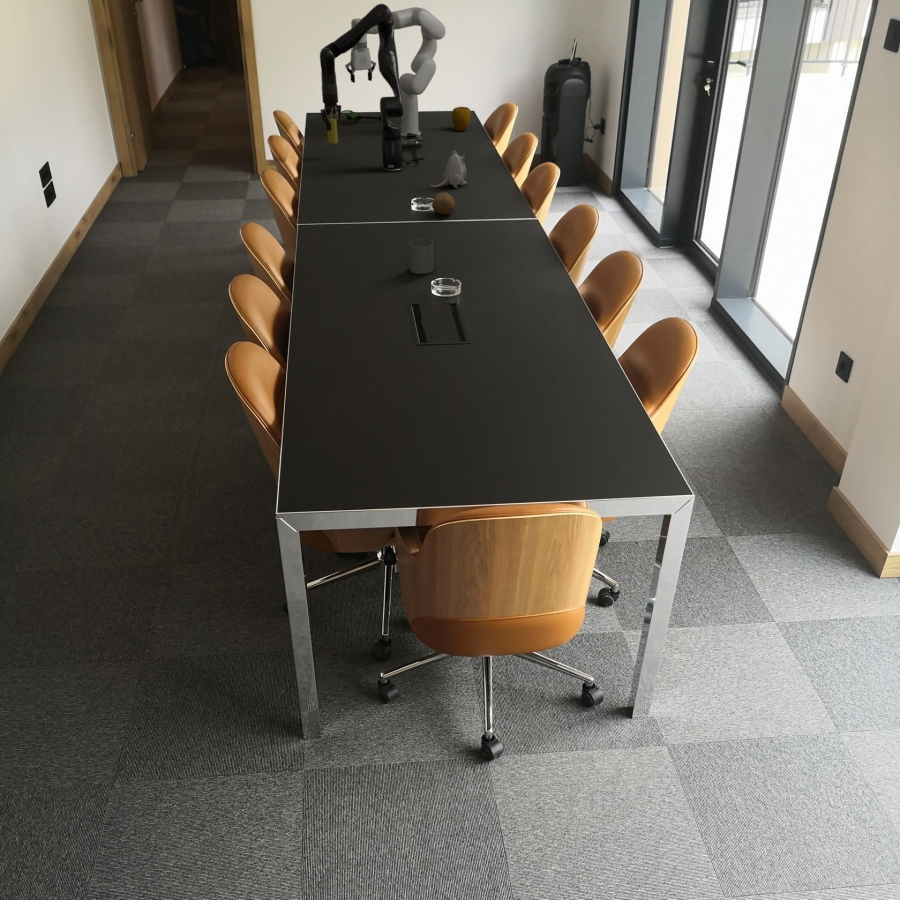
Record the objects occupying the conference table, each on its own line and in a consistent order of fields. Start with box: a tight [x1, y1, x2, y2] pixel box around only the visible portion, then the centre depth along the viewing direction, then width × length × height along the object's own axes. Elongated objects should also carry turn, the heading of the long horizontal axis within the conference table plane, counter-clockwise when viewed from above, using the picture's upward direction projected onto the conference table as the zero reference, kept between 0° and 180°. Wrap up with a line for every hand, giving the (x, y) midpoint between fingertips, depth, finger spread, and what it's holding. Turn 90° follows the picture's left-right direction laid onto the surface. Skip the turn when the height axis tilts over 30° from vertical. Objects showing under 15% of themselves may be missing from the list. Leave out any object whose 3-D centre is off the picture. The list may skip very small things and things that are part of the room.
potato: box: [431, 192, 456, 216], centre depth 360 cm, size 10×14×8 cm
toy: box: [428, 149, 468, 189], centre depth 390 cm, size 9×24×15 cm, turn 137°
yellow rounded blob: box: [451, 105, 472, 132], centre depth 487 cm, size 11×11×13 cm
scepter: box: [338, 109, 381, 125], centre depth 507 cm, size 6×13×30 cm
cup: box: [408, 237, 434, 275], centre depth 305 cm, size 8×8×10 cm
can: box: [326, 117, 339, 145], centre depth 430 cm, size 5×5×11 cm
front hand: (332, 128), depth 429 cm, fingers closed on can, 5 cm apart
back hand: (361, 81), depth 453 cm, fingers open, 9 cm apart
